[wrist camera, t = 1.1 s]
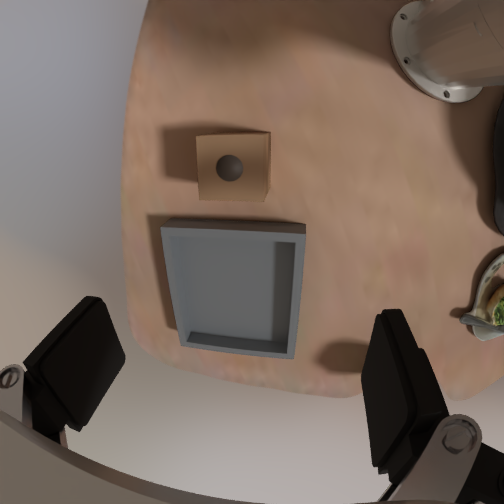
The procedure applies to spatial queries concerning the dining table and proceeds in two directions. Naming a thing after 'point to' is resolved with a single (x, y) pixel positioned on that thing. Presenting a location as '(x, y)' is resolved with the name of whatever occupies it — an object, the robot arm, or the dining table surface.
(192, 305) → the tray
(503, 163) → the casserole
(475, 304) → the salad plate
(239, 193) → the walnut block
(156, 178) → the dining table surface
